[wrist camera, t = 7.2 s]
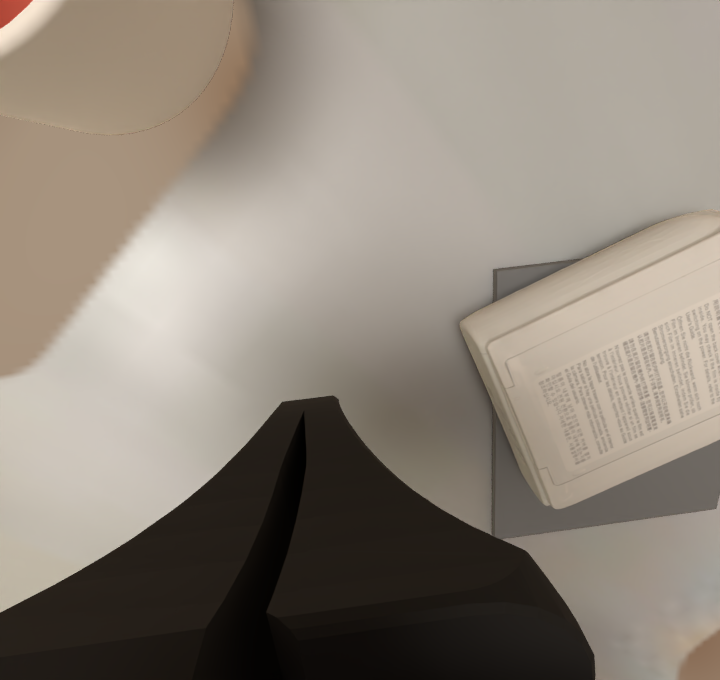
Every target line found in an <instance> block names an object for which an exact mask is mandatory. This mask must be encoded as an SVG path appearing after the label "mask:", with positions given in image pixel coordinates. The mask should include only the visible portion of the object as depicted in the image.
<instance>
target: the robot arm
mask: <svg viewBox="0 0 720 680" xmlns="http://www.w3.org/2000/svg"><path fill="white" fill-rule="evenodd" d="M0 680H595V661H594V654H593V652H592V650H591V648H590V646H589V644H588V642H587V640H586V638H585V636H584V634H583V632H582V630H581V628H580V626H579V624H578V622H577V621H576V619H575V617H574V616H573V614H572V613H571V611H570V609H569V608H568V606H567V605H566V603H565V602H564V600H563V599H562V598H561V596H560V595H559V593H558V592H557V591H556V589H555V588H554V587H553V585H552V584H551V582H550V581H549V580H548V578H547V577H546V576H545V574H544V573H543V572H542V570H541V569H540V568H539V566H538V565H537V564H536V562H535V561H534V560H533V559H532V557H531V556H530V555H529V554H528V552H526V551H525V550H523V549H521V548H519V547H516V546H514V545H512V544H510V543H507V542H505V541H503V540H501V539H499V538H496V537H494V536H492V535H490V534H488V533H485V532H483V531H481V530H479V529H476V528H474V527H472V526H470V525H468V524H466V523H465V522H463V521H461V520H459V519H458V518H456V517H454V516H452V515H450V514H449V513H447V512H445V511H443V510H442V509H440V508H438V507H437V506H435V505H434V504H433V503H431V502H430V501H428V500H427V499H425V498H424V497H422V496H421V495H419V494H418V493H416V492H415V491H414V490H412V489H411V488H410V487H409V486H407V485H406V484H405V483H404V482H402V481H401V480H400V479H399V478H398V477H397V476H395V475H394V474H393V473H392V472H391V471H390V470H389V469H388V468H387V467H386V466H385V465H384V464H383V463H382V462H381V461H380V460H379V459H378V458H377V457H376V456H375V455H374V454H373V453H372V452H371V451H370V449H369V448H368V447H367V446H366V445H365V444H364V442H363V441H362V440H361V439H360V437H359V436H358V435H357V433H356V432H355V430H354V429H353V428H352V426H351V425H350V423H349V422H348V420H347V419H346V417H345V415H344V413H343V411H342V409H341V407H340V405H339V399H337V398H336V397H335V396H326V397H318V398H310V399H302V400H294V401H286V402H282V403H281V404H280V405H279V407H278V408H277V409H276V410H275V411H274V412H273V414H272V415H271V416H270V417H269V418H268V420H267V421H266V422H265V423H264V424H263V426H262V427H261V428H260V429H259V430H258V431H257V433H256V434H255V435H254V436H253V437H252V438H251V439H250V441H249V442H248V443H247V444H246V445H245V446H244V447H243V448H242V449H241V450H240V451H239V452H238V453H237V454H236V455H235V456H234V457H233V458H232V459H231V460H230V461H229V462H228V463H227V464H226V465H225V466H224V467H223V468H222V469H221V470H220V471H219V472H218V473H217V474H216V475H215V476H214V477H213V478H212V479H210V480H209V481H208V482H207V483H206V484H205V485H204V486H202V487H201V488H200V489H199V490H198V491H196V492H195V493H194V494H193V495H192V496H190V497H189V498H188V499H187V500H185V501H184V502H183V503H182V504H180V505H179V506H178V507H176V508H175V509H174V510H172V511H171V512H169V513H168V514H167V515H165V516H164V517H162V518H161V519H159V520H158V521H157V522H155V523H154V524H152V525H151V526H150V527H148V528H147V529H145V530H144V531H142V532H141V533H140V534H138V535H137V536H135V537H134V538H132V539H131V540H129V541H128V542H126V543H125V544H123V545H121V546H120V547H118V548H117V549H115V550H113V551H112V552H110V553H109V554H107V555H105V556H104V557H102V558H100V559H99V560H97V561H95V562H94V563H92V564H90V565H88V566H87V567H85V568H83V569H82V570H80V571H78V572H77V573H75V574H73V575H71V576H69V577H68V578H66V579H64V580H62V581H60V582H59V583H57V584H55V585H53V586H51V587H49V588H47V589H45V590H44V591H42V592H40V593H38V594H36V595H34V596H32V597H30V598H28V599H26V600H24V601H22V602H20V603H18V604H16V605H14V606H12V607H11V608H9V609H7V610H5V611H3V612H1V613H0Z"/></svg>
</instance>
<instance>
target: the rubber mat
mask: <svg viewBox="0 0 720 680" xmlns="http://www.w3.org/2000/svg"><path fill="white" fill-rule="evenodd" d="M580 260H582V259H576V260H567V261H559V262H550V263H542V264H534V265H525V266H517V267H508V268H500V269H493V303H494V302H496V301H498V300H500V299H502V298H504V297H506V296H508V295H510V294H512V293H515V292H516V291H518V290H521V289H523V288H525V287H527V286H529V285H531V284H533V283H535V282H537V281H539V280H541V279H543V278H546V277H547V276H549V275H551V274H553V273H555V272H557V271H559V270H561V269H564V268H566V267H568V266H570V265H572V264H574V263H576V262H578V261H580ZM719 495H720V440H718V441H715V442H713V443H711V444H709V445H707V446H704V447H702V448H700V449H697V450H695V451H693V452H691V453H688V454H686V455H684V456H681V457H679V458H677V459H675V460H672V461H670V462H668V463H666V464H663V465H661V466H659V467H656V468H654V469H652V470H650V471H647V472H645V473H643V474H640V475H638V476H636V477H634V478H632V479H629V480H627V481H625V482H623V483H620V484H618V485H616V486H614V487H611V488H609V489H607V490H605V491H603V492H600V493H598V494H596V495H594V496H591V497H589V498H587V499H585V500H582V501H580V502H578V503H576V504H573V505H571V506H568V507H565V508H562V509H554V508H553V507H552V506H551V505H549V506H545V505H544V504H543V503H542V502H541V501H540V500H539V499H538V497H537V496H536V495H535V493H534V492H533V490H532V489H531V487H530V486H529V484H528V483H527V481H526V480H525V478H524V476H523V474H522V473H521V470H520V468H519V465H518V463H517V460H516V458H515V455H514V453H513V450H512V448H511V445H510V442H509V440H508V438H507V436H506V433H505V431H504V429H503V426H502V424H501V422H500V419H499V417H498V415H497V412H496V410H495V408H494V405H493V424H492V535H493V536H494V537H496V538H499V539H506V538H513V537H520V536H527V535H535V534H542V533H549V532H556V531H563V530H570V529H577V528H584V527H591V526H598V525H605V524H613V523H620V522H627V521H634V520H641V519H648V518H655V517H662V516H669V515H676V514H683V513H691V512H698V511H705V510H712V509H716V508H717V503H718V499H719Z"/></svg>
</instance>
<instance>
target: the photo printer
mask: <svg viewBox="0 0 720 680" xmlns="http://www.w3.org/2000/svg"><path fill="white" fill-rule="evenodd" d="M460 330H461V332H462V334H463V337H464V339H465V341H466V343H467V346H468V348H469V350H470V352H471V355H472V357H473V359H474V361H475V364H476V366H477V368H478V371H479V373H480V375H481V377H482V380H483V382H484V384H485V387H486V389H487V391H488V393H489V396H490V398H491V401H492V403H493V405H494V408H495V410H496V412H497V415H498V417H499V419H500V422H501V424H502V426H503V429H504V431H505V433H506V436H507V438H508V440H509V442H510V445H511V448H512V450H513V453H514V455H515V458H516V460H517V463H518V465H519V468H520V470H521V473H522V474H523V476H524V478H525V480H526V481H527V483H528V484H529V486H530V487H531V489H532V490H533V492H534V493H535V495H536V496H537V497H538V499H539V500H540V501H541V502H542V503H543V504H544V505H545V506H549V505H551V506H552V507H553V508H554V509H562V508H565V507H568V506H571V505H573V504H576V503H578V502H580V501H582V500H585V499H587V498H589V497H591V496H594V495H596V494H598V493H600V492H603V491H605V490H607V489H609V488H611V487H614V486H616V485H618V484H620V483H623V482H625V481H627V480H629V479H632V478H634V477H636V476H638V475H640V474H643V473H645V472H647V471H650V470H652V469H654V468H656V467H659V466H661V465H663V464H666V463H668V462H670V461H672V460H675V459H677V458H679V457H681V456H684V455H686V454H688V453H691V452H693V451H695V450H697V449H700V448H702V447H704V446H707V445H709V444H711V443H713V442H715V441H718V440H720V211H716V210H713V209H710V210H703V211H698V212H693V213H689V214H684V215H681V216H678V217H675V218H671V219H668V220H665V221H663V222H660V223H658V224H655V225H653V226H651V227H649V228H646V229H644V230H642V231H640V232H638V233H636V234H634V235H632V236H630V237H628V238H626V239H623V240H621V241H619V242H618V243H616V244H613V245H611V246H609V247H607V248H605V249H603V250H601V251H599V252H597V253H595V254H593V255H591V256H589V257H587V258H584V259H582V260H580V261H578V262H576V263H574V264H572V265H570V266H568V267H566V268H564V269H561V270H559V271H557V272H555V273H553V274H551V275H549V276H547V277H546V278H543V279H541V280H539V281H537V282H535V283H533V284H531V285H529V286H527V287H525V288H523V289H521V290H518V291H516V292H515V293H512V294H510V295H508V296H506V297H504V298H502V299H500V300H498V301H496V302H494V303H492V304H490V305H488V306H486V307H484V308H482V309H480V310H478V311H476V312H474V313H472V314H471V315H469V316H468V317H466V318H465V319H463V320H462V321H461V322H460Z"/></svg>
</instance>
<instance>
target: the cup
mask: <svg viewBox="0 0 720 680" xmlns="http://www.w3.org/2000/svg"><path fill="white" fill-rule="evenodd" d="M233 2H234V0H0V115H2V116H7V117H11V118H16V119H21V120H25V121H30V122H35V123H40V124H44V125H49V126H54V127H59V128H63V129H68V130H73V131H77V132H83V133H89V134H98V135H122V134H130V133H136V132H140V131H144V130H148V129H150V128H153V127H156V126H158V125H161V124H163V123H165V122H167V121H169V120H171V119H172V118H174V117H175V116H177V115H179V114H180V113H181V112H183V111H184V110H185V109H186V108H187V107H189V106H190V105H191V104H192V103H193V102H194V101H195V100H196V99H197V98H198V97H199V96H200V94H201V93H202V92H203V90H204V89H205V88H206V87H207V85H208V84H209V82H210V81H211V79H212V77H213V76H214V74H215V72H216V70H217V68H218V66H219V64H220V62H221V59H222V57H223V54H224V51H225V48H226V45H227V41H228V37H229V33H230V28H231V22H232V15H233Z"/></svg>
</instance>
